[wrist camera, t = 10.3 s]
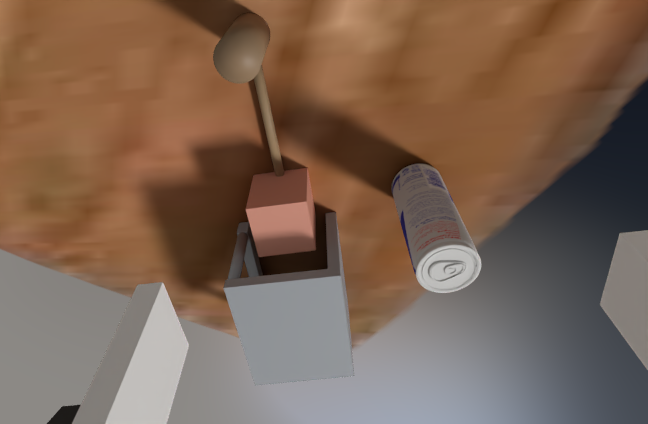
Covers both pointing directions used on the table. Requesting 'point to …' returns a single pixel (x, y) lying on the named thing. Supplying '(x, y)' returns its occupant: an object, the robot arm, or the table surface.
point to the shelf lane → (291, 315)
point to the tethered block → (280, 186)
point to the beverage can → (434, 230)
